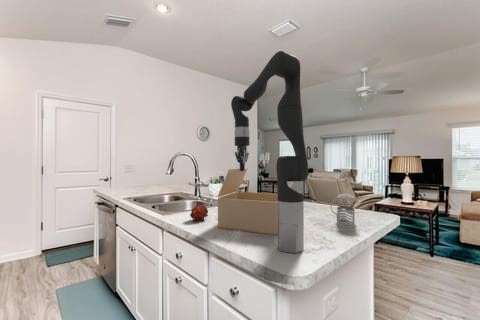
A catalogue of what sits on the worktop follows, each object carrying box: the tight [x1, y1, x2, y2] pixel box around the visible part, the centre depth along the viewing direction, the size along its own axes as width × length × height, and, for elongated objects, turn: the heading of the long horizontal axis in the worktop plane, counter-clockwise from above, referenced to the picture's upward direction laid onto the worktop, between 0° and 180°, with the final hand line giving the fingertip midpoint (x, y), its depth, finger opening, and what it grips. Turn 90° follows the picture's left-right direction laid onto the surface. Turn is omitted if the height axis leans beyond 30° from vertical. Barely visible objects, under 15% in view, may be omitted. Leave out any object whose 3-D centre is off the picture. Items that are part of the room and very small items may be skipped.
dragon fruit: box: [189, 204, 209, 222], centre depth 126 cm, size 8×8×12 cm
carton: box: [217, 191, 278, 236], centre depth 117 cm, size 24×28×14 cm
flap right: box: [277, 181, 295, 201], centre depth 111 cm, size 23×14×1 cm
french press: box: [330, 173, 358, 229], centre depth 116 cm, size 10×12×25 cm
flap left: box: [217, 167, 248, 198], centre depth 122 cm, size 23×14×1 cm
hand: (242, 170), depth 121 cm, fingers closed
